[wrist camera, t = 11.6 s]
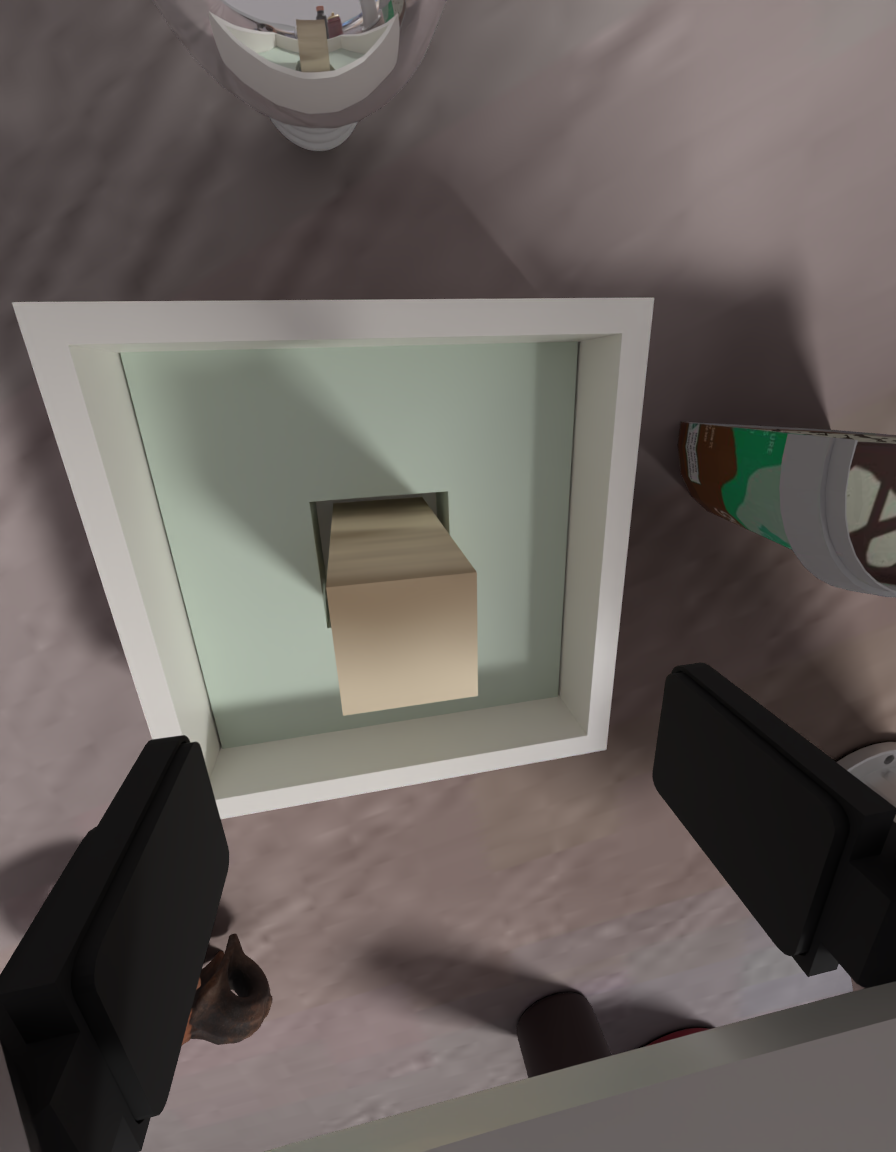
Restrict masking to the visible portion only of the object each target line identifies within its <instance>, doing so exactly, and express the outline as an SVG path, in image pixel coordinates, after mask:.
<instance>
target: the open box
mask: <svg viewBox="0 0 896 1152" xmlns="http://www.w3.org/2000/svg"><path fill="white" fill-rule="evenodd" d="M12 305H13V308H14V311H15V314H16V317H17V320H18V323H19V326H20V330H21V333H22V336H23V339H24V342H25V345H26V348H27V351H28V354H29V358H30V361H31V364H32V367H33V370H34V373H35V376H36V379H37V382H38V386H39V389H40V392H41V395H42V398H43V401H44V404H45V407H46V410H47V414H48V417H49V420H50V423H51V426H52V429H53V432H54V435H55V438H56V442H57V445H58V448H59V451H60V454H61V457H62V460H63V463H64V466H65V469H66V473H67V476H68V479H69V482H70V485H71V488H72V491H73V494H74V497H75V501H76V504H77V507H78V510H79V513H80V516H81V519H82V522H83V525H84V529H85V532H86V535H87V538H88V541H89V544H90V547H91V550H92V553H93V557H94V560H95V563H96V566H97V569H98V572H99V575H100V578H101V581H102V585H103V588H104V591H105V594H106V597H107V600H108V603H109V606H110V609H111V613H112V616H113V619H114V622H115V625H116V628H117V631H118V634H119V637H120V640H121V644H122V647H123V650H124V653H125V656H126V659H127V662H128V665H129V668H130V672H131V675H132V678H133V681H134V684H135V687H136V690H137V693H138V696H139V700H140V703H141V706H142V709H143V712H144V715H145V718H146V721H147V724H148V728H149V731H150V734H151V737H152V739H159V738H166V737H173V736H181V735H185V736H187V737H188V738H189V740H190V742H198V743H199V744H200V746H201V749H202V753H203V756H204V760H205V764H206V767H207V771H208V775H209V778H210V782H211V786H212V790H213V793H214V797H215V801H216V804H217V808H218V812H219V815H220V819H224V818H230V817H236V816H241V815H247V814H252V813H258V812H263V811H269V810H274V809H280V808H286V807H291V806H297V805H302V804H308V803H313V802H319V801H325V800H330V799H336V798H341V797H347V796H352V795H358V794H363V793H369V792H375V791H380V790H386V789H391V788H397V787H402V786H408V785H413V784H419V783H425V782H430V781H436V780H441V779H447V778H452V777H458V776H464V775H469V774H475V773H480V772H486V771H491V770H497V769H502V768H508V767H514V766H519V765H525V764H530V763H536V762H541V761H547V760H553V759H558V758H564V757H569V756H575V755H580V754H586V753H591V752H597V751H603V750H606V748H607V739H608V729H609V720H610V710H611V701H612V692H613V682H614V673H615V663H616V654H617V644H618V635H619V626H620V616H621V607H622V597H623V588H624V578H625V569H626V560H627V550H628V541H629V531H630V522H631V512H632V503H633V494H634V484H635V475H636V465H637V456H638V447H639V437H640V428H641V418H642V409H643V399H644V390H645V381H646V371H647V362H648V352H649V343H650V333H651V324H652V315H653V305H654V298H521V299H381V300H241V301H101V302H12ZM537 342H578V352H577V370H576V387H575V405H574V422H573V440H572V457H571V475H570V492H569V510H568V527H567V545H566V562H565V580H564V597H563V615H562V632H561V650H560V667H559V685H558V697H552V698H545V699H539V700H532V701H526V702H520V703H513V704H507V705H501V706H494V707H488V708H481V709H475V710H469V711H462V712H456V713H449V714H443V715H437V716H430V717H424V718H417V719H411V720H405V721H398V722H392V723H386V724H379V725H373V726H366V727H360V728H354V729H347V730H341V731H334V732H328V733H322V734H315V735H309V736H302V737H296V738H290V739H283V740H277V741H271V742H264V743H258V744H251V745H245V746H239V747H232V748H226V749H222V746H221V742H220V738H219V734H218V730H217V726H216V722H215V718H214V715H213V711H212V707H211V703H210V699H209V695H208V691H207V687H206V684H205V680H204V676H203V672H202V668H201V664H200V660H199V656H198V653H197V649H196V645H195V641H194V637H193V633H192V629H191V625H190V622H189V618H188V614H187V610H186V606H185V602H184V598H183V594H182V591H181V587H180V583H179V579H178V575H177V571H176V567H175V563H174V560H173V556H172V552H171V548H170V544H169V540H168V536H167V532H166V529H165V525H164V521H163V517H162V513H161V509H160V505H159V501H158V498H157V494H156V490H155V486H154V482H153V478H152V474H151V470H150V467H149V463H148V459H147V455H146V451H145V447H144V443H143V439H142V436H141V432H140V428H139V424H138V420H137V416H136V412H135V408H134V405H133V401H132V397H131V393H130V389H129V385H128V381H127V377H126V374H125V370H124V366H123V362H122V358H121V354H120V352H155V351H198V350H240V349H283V348H325V347H368V346H410V345H452V344H495V343H537ZM414 497H423V499H424V500H425V502H426V503H427V504H428V506H429V507H430V508H431V510H432V511H433V513H434V514H435V515H436V517H437V508H436V492H432V493H419V494H406V495H392V496H379V497H366V498H353V499H340V500H327V501H316V508H317V515H318V523H319V530H320V537H321V545H322V552H323V559H324V566H325V574H326V581H327V571H328V559H329V547H330V536H331V524H332V513H333V503H345V502H358V501H372V500H386V499H400V498H414Z"/></svg>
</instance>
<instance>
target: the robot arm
mask: <svg viewBox="0 0 896 1152" xmlns="http://www.w3.org/2000/svg"><path fill="white" fill-rule="evenodd" d="M653 781H654V785H655V787H656V789H657V791H658V792H659V794H660V795H661V796H662V798H663V799H664V800H665V802H666V803H667V804H668V806H669V807H670V808H671V809H672V811H673V812H674V813H675V815H676V816H677V817H678V819H679V820H680V821H681V823H682V824H683V825H684V826H685V828H686V829H687V830H688V832H689V833H690V834H691V836H692V837H693V838H694V839H695V841H696V842H697V843H698V845H699V846H700V847H701V849H702V850H703V851H704V852H705V854H706V855H707V856H708V858H709V859H710V860H711V862H712V863H713V864H714V865H715V867H716V868H717V869H718V871H719V872H720V873H721V875H722V876H723V877H724V879H725V880H726V881H727V882H728V884H729V885H730V886H731V888H732V889H733V890H734V892H735V893H736V894H737V895H738V897H739V898H740V899H741V901H742V902H743V903H744V905H745V906H746V907H747V908H748V910H749V911H750V912H751V914H752V915H753V916H754V918H755V919H756V920H757V922H758V923H759V924H760V925H761V927H762V928H763V929H764V931H765V932H766V933H767V935H768V936H769V937H770V938H771V940H772V941H773V942H774V944H775V945H776V946H777V947H778V948H779V949H780V950H781V951H782V952H783V953H784V954H786V955H788V956H792V957H793V958H794V960H795V961H796V962H797V963H798V965H799V966H800V967H801V969H802V970H803V971H804V972H805V974H806V975H807V976H808V977H809V976H813V975H817V974H821V973H825V972H828V971H832V970H836V969H837V967H838V964H840V965H841V966H842V967H843V968H844V970H845V971H846V972H847V973H848V974H849V975H850V977H851V980H852V986H853V992H849V993H846V994H842V995H838V996H834V997H830V998H827V999H823V1000H819V1001H815V1002H812V1003H808V1004H804V1005H800V1006H796V1007H793V1008H789V1009H785V1010H781V1011H777V1012H774V1013H770V1014H766V1015H762V1016H758V1017H755V1018H751V1019H747V1020H743V1021H739V1022H736V1023H732V1024H728V1025H724V1026H720V1027H717V1028H713V1029H709V1030H705V1031H701V1032H698V1033H694V1034H690V1035H687V1036H683V1037H679V1038H675V1039H672V1040H668V1041H664V1042H661V1043H657V1044H653V1045H649V1046H646V1047H642V1048H638V1049H635V1050H631V1051H627V1052H623V1053H620V1054H616V1055H612V1056H609V1057H605V1058H601V1059H598V1060H594V1061H590V1062H586V1063H583V1064H579V1065H575V1066H572V1067H568V1068H564V1069H561V1070H557V1071H553V1072H550V1073H546V1074H542V1075H539V1076H535V1077H531V1078H528V1079H524V1080H520V1081H516V1082H513V1083H509V1084H505V1085H502V1086H498V1087H494V1088H491V1089H487V1090H483V1091H480V1092H476V1093H473V1094H469V1095H465V1096H462V1097H458V1098H455V1099H451V1100H447V1101H444V1102H440V1103H436V1104H433V1105H429V1106H426V1107H422V1108H418V1109H415V1110H411V1111H408V1112H404V1113H400V1114H397V1115H393V1116H390V1117H386V1118H382V1119H379V1120H375V1121H372V1122H368V1123H364V1124H361V1125H357V1126H354V1127H350V1128H346V1129H343V1130H339V1131H335V1132H332V1133H328V1134H325V1135H321V1136H317V1137H314V1138H310V1139H307V1140H303V1141H299V1142H296V1143H292V1144H289V1145H285V1146H282V1147H278V1148H275V1149H272V1150H268V1151H265V1152H896V742H885V743H878V744H873V745H870V746H867V747H864V748H861V749H859V750H857V751H855V752H853V753H851V754H849V755H847V756H845V757H844V758H842V759H841V760H839V761H837V762H835V761H834V760H833V759H831V758H830V757H829V756H827V755H826V754H825V753H824V752H822V751H821V750H820V749H818V748H817V747H816V746H814V745H813V744H812V743H810V742H809V741H808V740H806V739H805V738H804V737H802V736H801V735H800V734H799V733H797V732H796V731H795V730H793V729H792V728H791V727H789V726H788V725H787V724H785V723H784V722H783V721H781V720H780V719H779V718H777V717H776V716H775V715H774V714H772V713H771V712H770V711H768V710H767V709H766V708H764V707H763V706H762V705H760V704H759V703H758V702H756V701H755V700H754V699H752V698H751V697H750V696H749V695H747V694H746V693H745V692H743V691H742V690H741V689H739V688H738V687H737V686H735V685H734V684H733V683H731V682H730V681H729V680H727V679H726V678H725V677H724V676H722V675H721V674H720V673H718V672H717V671H716V670H714V669H713V668H712V667H710V666H709V665H707V664H705V663H695V664H688V665H681V666H677V667H675V668H674V669H673V671H672V674H670V675H668V676H667V678H666V682H665V689H664V696H663V703H662V710H661V717H660V724H659V731H658V738H657V745H656V752H655V759H654V766H653ZM228 866H229V850H228V845H227V841H226V838H225V834H224V830H223V827H222V823H221V819H220V815H219V812H218V808H217V804H216V801H215V797H214V793H213V790H212V786H211V782H210V778H209V775H208V771H207V767H206V764H205V760H204V756H203V753H202V749H201V746H200V744H199V743H198V742H190V740H189V738H188V737H187V736H185V735H181V736H173V737H166V738H159V739H152V740H150V741H148V743H147V744H146V745H145V747H144V749H143V750H142V752H141V754H140V755H139V757H138V759H137V760H136V762H135V764H134V765H133V767H132V769H131V770H130V772H129V774H128V775H127V777H126V779H125V781H124V782H123V784H122V786H121V787H120V789H119V791H118V792H117V794H116V796H115V797H114V799H113V801H112V802H111V804H110V806H109V807H108V809H107V811H106V812H105V814H104V816H103V818H102V819H101V821H100V823H99V824H98V826H97V827H95V828H93V829H92V830H91V831H89V832H88V834H87V835H86V836H85V837H84V839H83V840H82V842H81V843H80V845H79V847H78V848H77V850H76V851H75V853H74V855H73V856H72V858H71V860H70V861H69V863H68V865H67V866H66V868H65V869H64V871H63V873H62V874H61V876H60V878H59V879H58V881H57V883H56V884H55V886H54V888H53V889H52V891H51V892H50V894H49V896H48V897H47V899H46V901H45V902H44V904H43V906H42V907H41V909H40V910H39V912H38V914H37V915H36V917H35V919H34V920H33V922H32V924H31V925H30V927H29V929H28V930H27V932H26V933H25V935H24V937H23V938H22V940H21V942H20V943H19V945H18V947H17V948H16V950H15V952H14V953H13V955H12V956H11V958H10V960H9V961H8V963H7V965H6V966H5V968H4V970H3V971H2V973H1V974H0V1152H139V1151H141V1150H142V1146H143V1143H144V1139H145V1135H146V1132H147V1128H148V1125H149V1121H150V1118H151V1117H154V1116H157V1115H160V1113H161V1112H162V1111H163V1108H164V1106H165V1104H166V1101H167V1098H168V1095H169V1091H170V1087H171V1084H172V1080H173V1076H174V1072H175V1069H176V1065H177V1061H178V1057H179V1053H180V1050H181V1046H182V1042H183V1038H184V1035H185V1031H186V1027H187V1023H188V1019H189V1016H190V1012H191V1008H192V1004H193V1000H194V997H195V993H196V989H197V985H198V982H199V978H200V974H201V970H202V966H203V963H204V959H205V955H206V951H207V948H208V944H209V940H210V936H211V932H212V929H213V925H214V921H215V917H216V913H217V910H218V906H219V902H220V898H221V895H222V891H223V887H224V883H225V879H226V876H227V872H228Z"/></svg>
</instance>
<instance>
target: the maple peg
mask: <svg viewBox="0 0 896 1152" xmlns="http://www.w3.org/2000/svg"><path fill="white" fill-rule="evenodd" d="M326 591H327V599H328V606H329V614H330V621H331V629H332V636H333V644H334V651H335V659H336V666H337V674H338V681H339V689H340V697H341V704H342V712H343V716H345V715H352V714H359V713H366V712H373V711H379V710H386V709H393V708H400V707H407V706H413V705H420V704H427V703H434V702H440V701H447V700H454V699H461V698H468V697H474V696H478V640H477V572H476V570H475V569H474V568H473V566H472V565H471V563H470V562H469V561H468V559H467V558H466V557H465V555H464V554H463V552H462V551H461V550H460V548H459V547H458V546H457V544H456V543H455V541H454V540H453V539H452V537H451V536H450V535H449V533H448V532H447V530H446V529H445V528H444V526H443V525H442V524H441V522H440V521H439V519H438V518H437V517H436V515H435V514H434V513H433V511H432V510H431V508H430V507H429V506H428V504H427V503H426V502H425V500H424V499H423V497H414V498H400V499H386V500H372V501H358V502H345V503H333V513H332V524H331V536H330V547H329V559H328V571H327V582H326Z"/></svg>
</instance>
